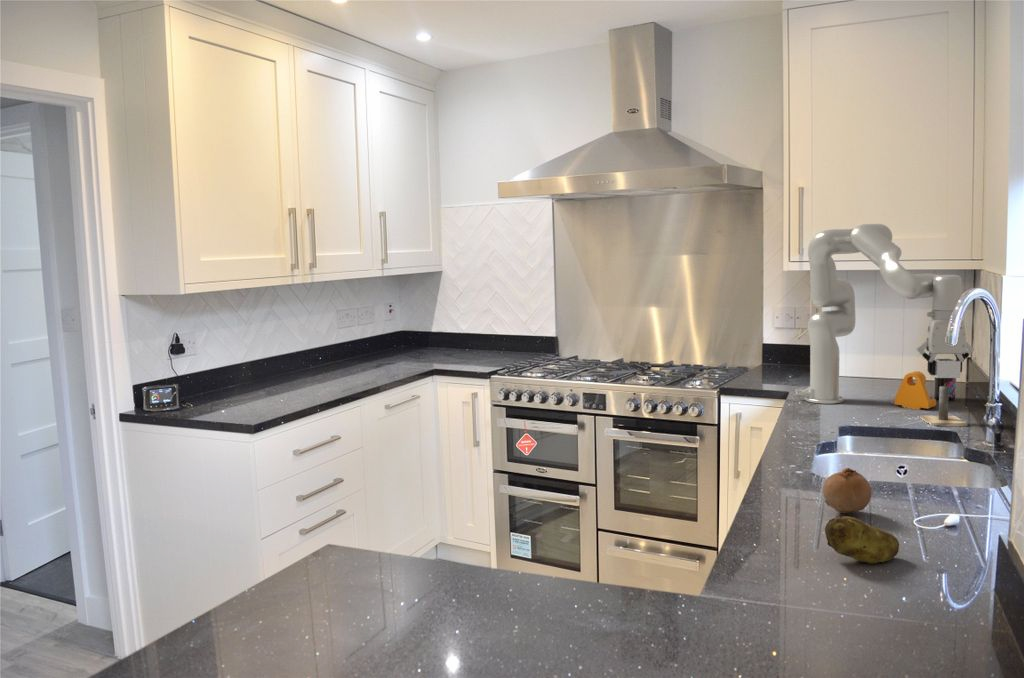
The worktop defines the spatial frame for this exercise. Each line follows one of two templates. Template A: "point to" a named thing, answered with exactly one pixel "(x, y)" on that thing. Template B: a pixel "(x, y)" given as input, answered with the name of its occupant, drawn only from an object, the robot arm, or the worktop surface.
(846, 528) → the potato
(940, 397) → the post stand
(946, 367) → the collar
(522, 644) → the worktop surface
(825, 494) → the onion
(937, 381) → the supplement container
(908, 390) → the bracket
